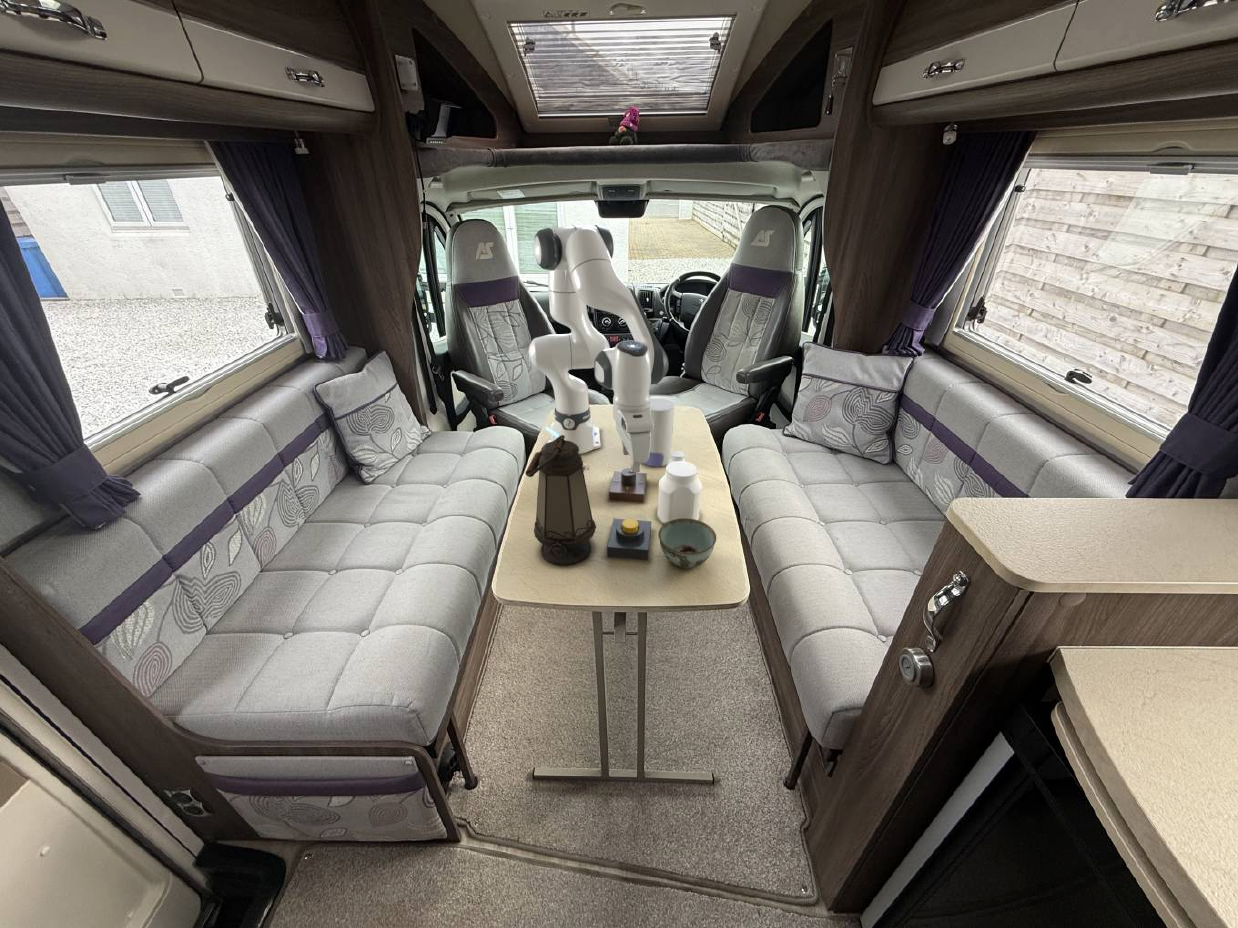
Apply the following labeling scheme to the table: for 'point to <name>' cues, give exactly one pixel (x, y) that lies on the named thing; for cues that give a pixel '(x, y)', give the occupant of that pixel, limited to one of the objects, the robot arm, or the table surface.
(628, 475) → the knob
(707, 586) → the table surface
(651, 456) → the container
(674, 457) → the supplement bottle
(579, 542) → the lantern
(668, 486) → the jar
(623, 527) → the cylinder
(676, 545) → the bowl
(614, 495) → the dial panel
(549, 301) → the robot arm
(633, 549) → the trigger housing
